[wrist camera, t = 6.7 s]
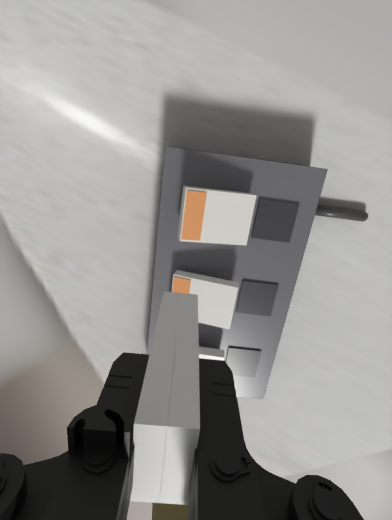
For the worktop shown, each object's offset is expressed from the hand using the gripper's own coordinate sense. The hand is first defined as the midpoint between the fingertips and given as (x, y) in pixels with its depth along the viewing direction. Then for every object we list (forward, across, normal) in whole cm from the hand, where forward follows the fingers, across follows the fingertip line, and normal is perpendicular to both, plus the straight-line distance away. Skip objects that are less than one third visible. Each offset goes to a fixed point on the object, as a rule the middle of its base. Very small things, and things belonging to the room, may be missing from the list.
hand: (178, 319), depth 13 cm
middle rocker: (+13, -2, +6) cm, 14 cm away
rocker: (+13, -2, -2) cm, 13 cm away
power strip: (+18, -8, +6) cm, 21 cm away
